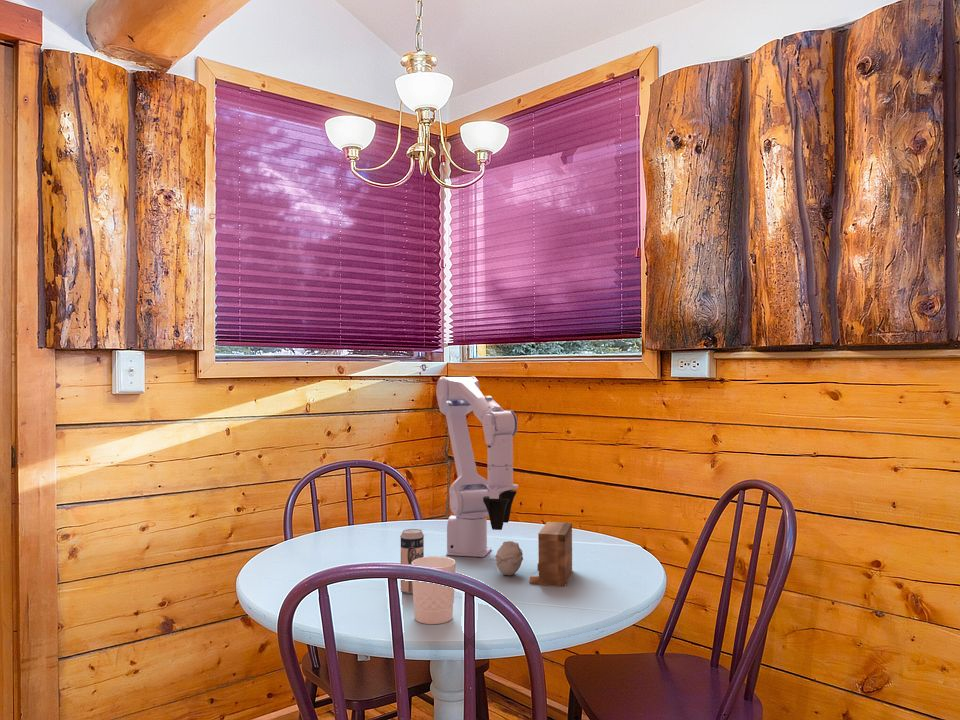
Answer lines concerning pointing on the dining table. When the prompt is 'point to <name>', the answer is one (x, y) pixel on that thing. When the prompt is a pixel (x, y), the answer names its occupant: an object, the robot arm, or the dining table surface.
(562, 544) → the upright wooden block
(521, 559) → the pink clay lump
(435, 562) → the pink cup
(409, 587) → the beer can
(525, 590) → the dining table surface
